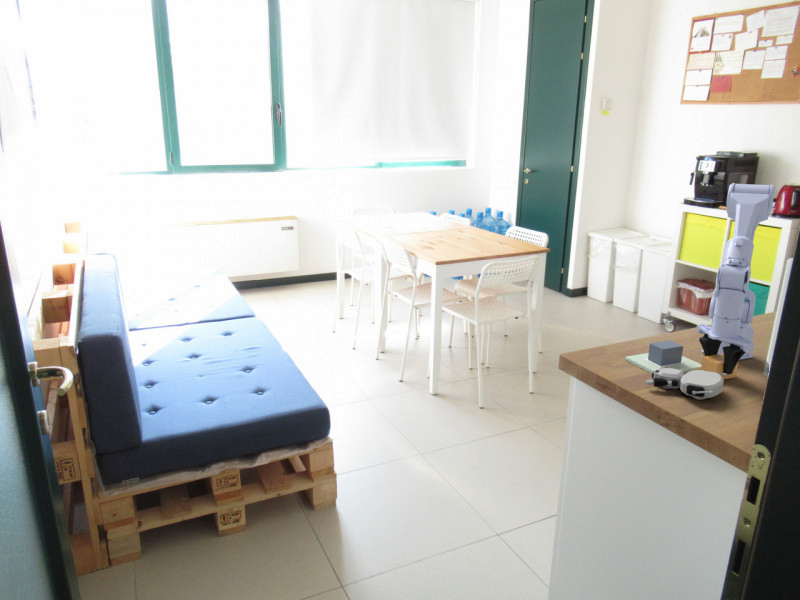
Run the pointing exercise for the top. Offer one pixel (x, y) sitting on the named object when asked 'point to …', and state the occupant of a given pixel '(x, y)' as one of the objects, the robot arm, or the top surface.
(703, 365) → the orange brick
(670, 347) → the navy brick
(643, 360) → the baseplate
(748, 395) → the top surface
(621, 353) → the top surface
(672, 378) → the robot toy
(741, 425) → the top surface
